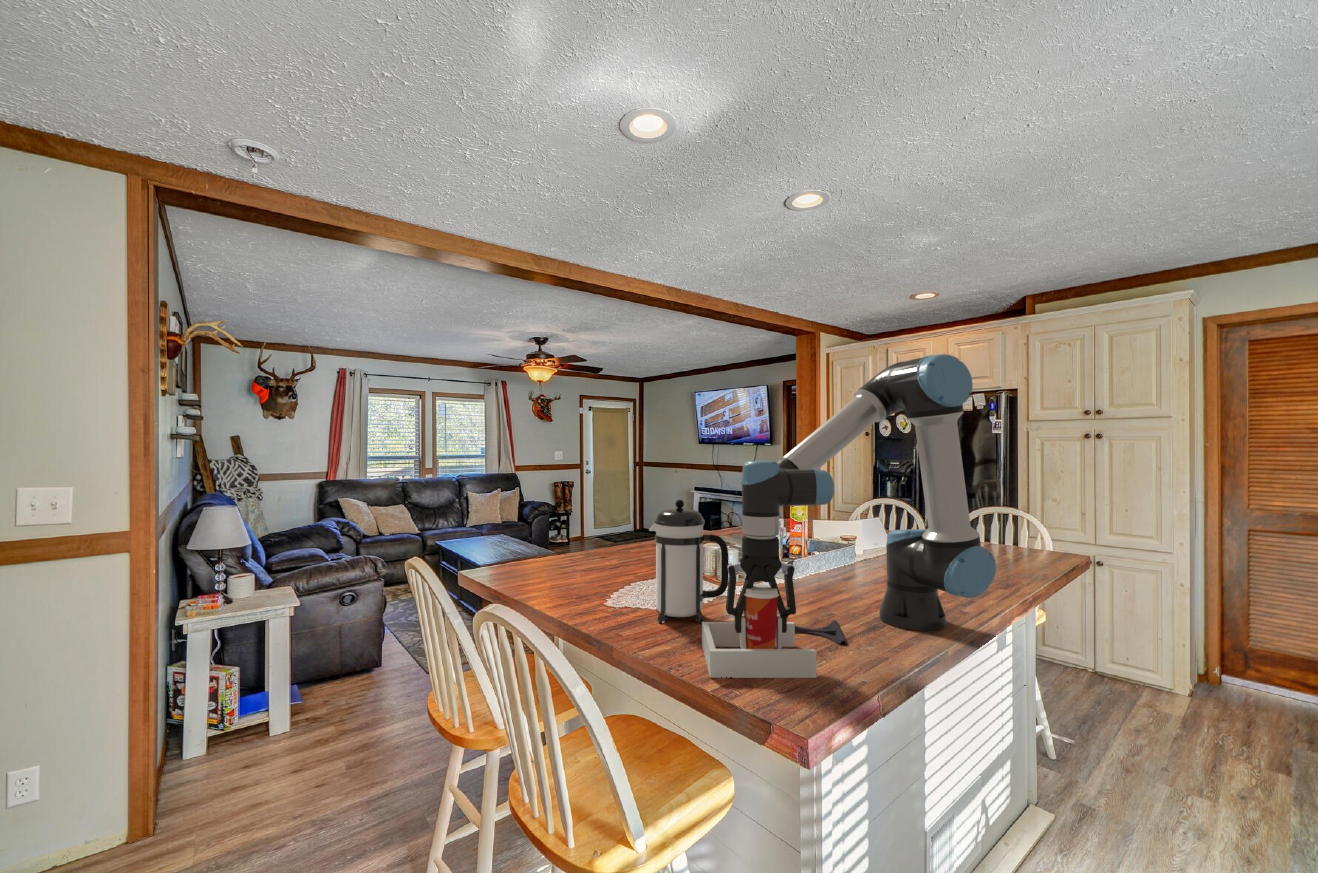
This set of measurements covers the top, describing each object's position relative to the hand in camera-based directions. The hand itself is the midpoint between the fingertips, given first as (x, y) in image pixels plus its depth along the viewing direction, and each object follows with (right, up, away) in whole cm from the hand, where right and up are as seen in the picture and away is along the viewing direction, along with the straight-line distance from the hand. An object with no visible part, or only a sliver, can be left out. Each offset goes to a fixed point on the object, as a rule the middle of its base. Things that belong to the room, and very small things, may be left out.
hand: (760, 648), depth 114 cm
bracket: (+15, -4, +17) cm, 23 cm away
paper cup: (0, -2, 0) cm, 2 cm away
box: (-1, -2, 0) cm, 3 cm away
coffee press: (-14, -3, +29) cm, 32 cm away
